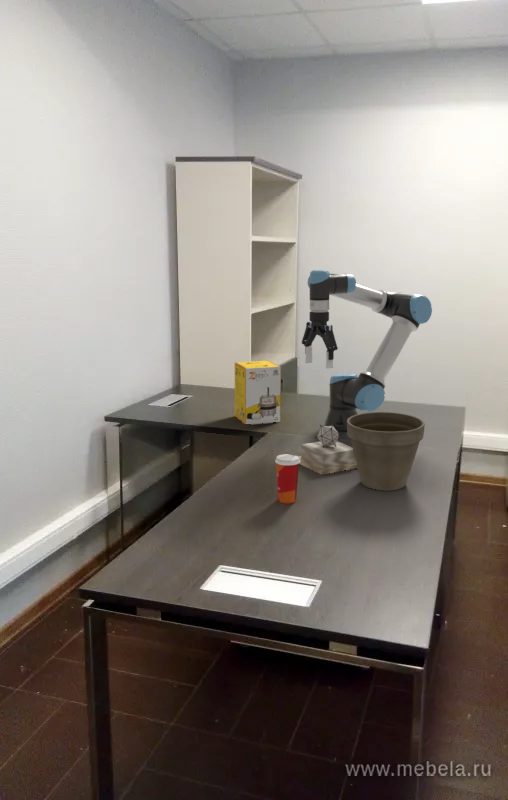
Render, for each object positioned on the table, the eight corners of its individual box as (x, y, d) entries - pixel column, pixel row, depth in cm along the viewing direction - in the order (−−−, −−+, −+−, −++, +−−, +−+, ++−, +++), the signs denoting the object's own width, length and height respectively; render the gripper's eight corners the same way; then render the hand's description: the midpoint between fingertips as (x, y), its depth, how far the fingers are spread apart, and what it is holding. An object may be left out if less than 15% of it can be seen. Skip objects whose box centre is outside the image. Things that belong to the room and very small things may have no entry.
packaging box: (268, 413, 328) (268, 360, 322) (280, 422, 313) (281, 366, 307) (234, 416, 323) (234, 362, 317) (245, 425, 308) (245, 368, 302)
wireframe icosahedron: (331, 457, 253) (339, 440, 245) (309, 448, 254) (316, 431, 246) (338, 440, 259) (346, 423, 251) (317, 431, 260) (324, 413, 252)
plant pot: (370, 501, 218) (373, 434, 213) (331, 477, 240) (333, 415, 235) (436, 490, 228) (440, 425, 223) (392, 468, 250) (395, 408, 245)
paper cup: (283, 494, 224) (283, 452, 221) (303, 499, 220) (304, 456, 217) (269, 501, 218) (270, 458, 215) (290, 506, 214) (291, 462, 211)
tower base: (334, 454, 266) (334, 437, 265) (363, 467, 251) (364, 449, 250) (293, 460, 258) (293, 443, 257) (321, 475, 243) (321, 456, 241)
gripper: (292, 308, 279) (293, 361, 284) (331, 314, 259) (330, 371, 264) (308, 307, 283) (308, 359, 288) (347, 313, 262) (346, 369, 267)
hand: (318, 365), depth 276 cm, fingers open, 13 cm apart
